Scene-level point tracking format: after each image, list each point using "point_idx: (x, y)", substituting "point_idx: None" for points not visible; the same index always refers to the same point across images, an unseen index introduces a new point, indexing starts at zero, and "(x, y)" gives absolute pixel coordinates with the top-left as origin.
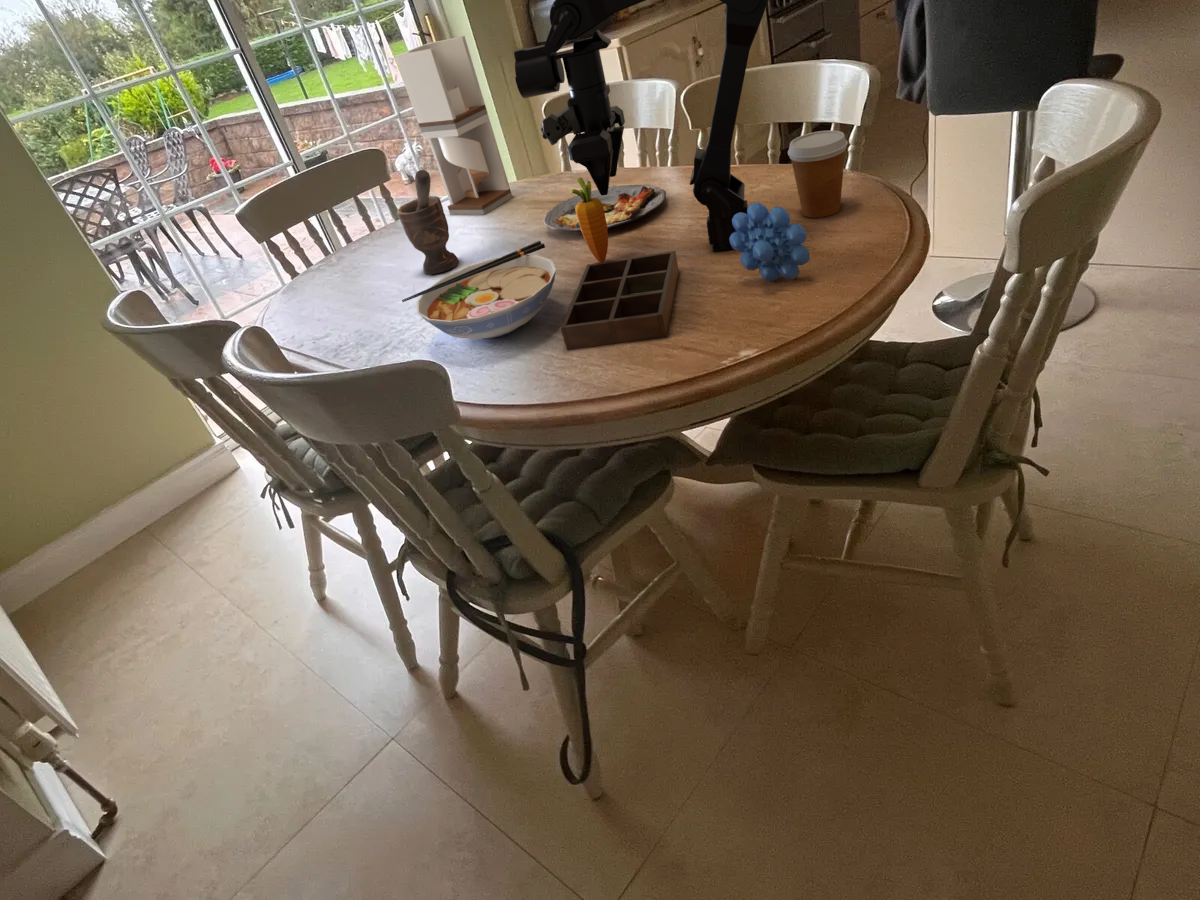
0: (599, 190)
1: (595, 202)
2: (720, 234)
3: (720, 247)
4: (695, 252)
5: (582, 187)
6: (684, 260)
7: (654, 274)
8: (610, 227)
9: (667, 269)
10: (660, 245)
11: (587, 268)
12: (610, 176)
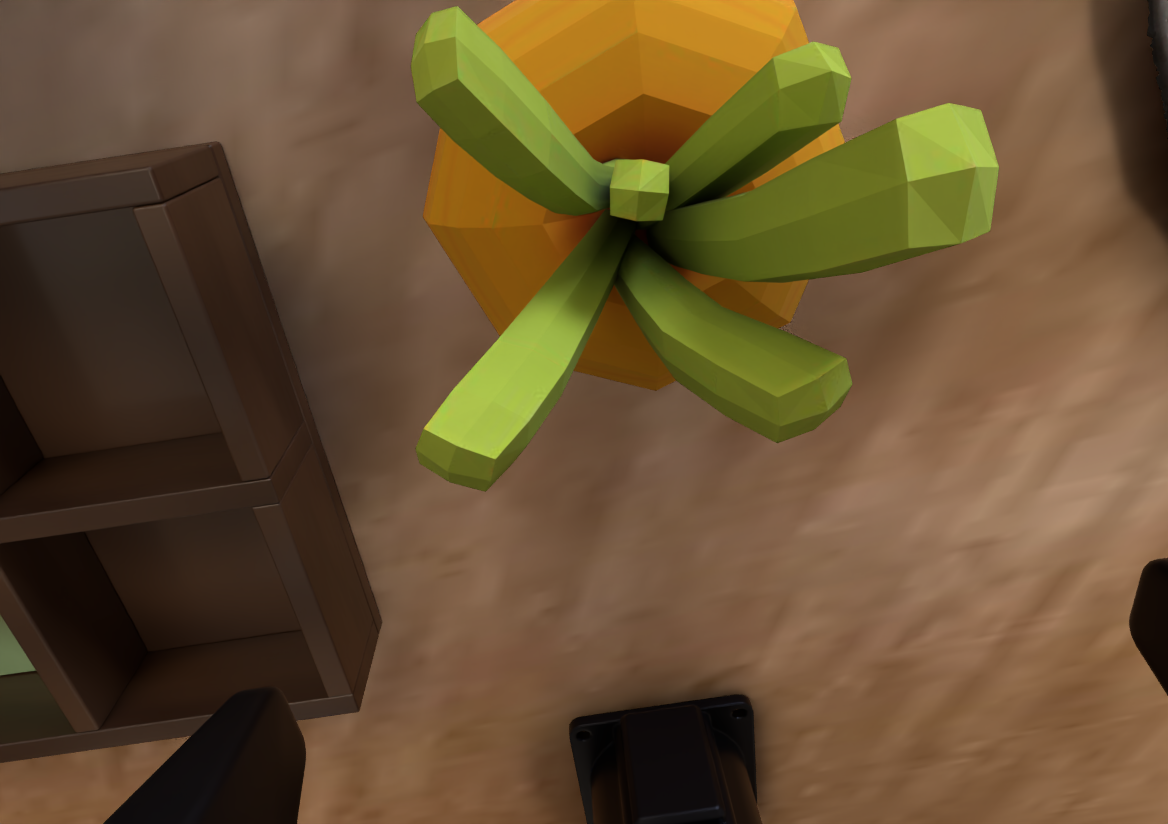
0: (171, 770)
1: (582, 353)
2: (603, 808)
3: (585, 752)
4: (600, 644)
5: (754, 209)
6: (512, 617)
7: (48, 679)
8: (1148, 35)
9: (102, 733)
10: (761, 451)
11: (68, 201)
12: (1147, 573)
